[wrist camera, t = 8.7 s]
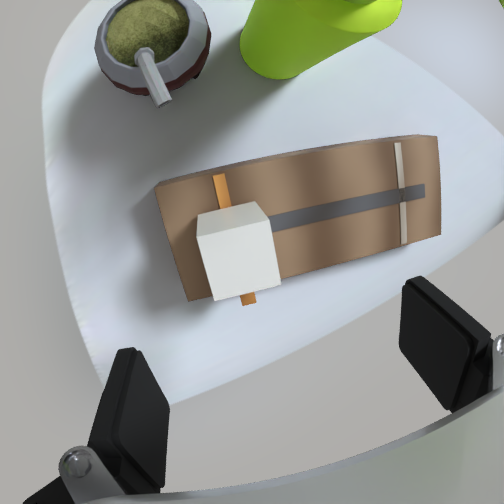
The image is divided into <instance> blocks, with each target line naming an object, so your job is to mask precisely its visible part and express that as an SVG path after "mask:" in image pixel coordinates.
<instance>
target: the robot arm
mask: <svg viewBox="0 0 504 504" xmlns="http://www.w3.org/2000/svg"><path fill="white" fill-rule="evenodd" d="M490 337H491V333H490V332H489V331H488V330H487V329H485V328H484V327H483V326H482V325H481V324H480V323H479V322H477V321H476V320H475V319H474V318H473V317H472V316H470V315H469V314H468V313H467V312H466V311H465V310H463V309H462V308H461V307H460V306H459V305H457V304H456V303H455V302H454V301H453V300H451V299H450V298H449V297H448V296H446V295H445V294H444V293H443V292H442V291H440V290H439V289H438V288H436V287H435V286H434V285H433V284H431V283H430V282H429V281H428V280H426V279H425V278H424V277H422V276H417V277H414V278H411V279H408V280H407V281H406V283H405V285H404V286H403V287H402V304H401V320H400V333H399V348H400V350H401V352H402V353H403V354H404V356H405V357H406V358H407V360H408V361H409V362H410V364H411V365H412V366H413V367H414V369H415V370H416V371H417V373H418V374H419V375H420V377H421V378H422V379H423V381H424V382H425V383H426V384H427V386H428V387H429V389H430V390H431V391H432V393H433V394H434V395H435V397H436V398H437V399H438V401H439V402H440V403H441V405H442V406H443V407H444V409H446V410H450V411H451V413H452V414H450V415H448V416H446V417H444V418H442V419H440V420H438V421H437V422H434V423H432V424H430V425H428V426H426V427H424V428H422V429H420V430H418V431H416V432H414V433H411V434H409V435H407V436H405V437H403V438H400V439H398V440H395V441H393V442H391V443H388V444H386V445H383V446H380V447H378V448H375V449H373V450H370V451H368V452H365V453H362V454H359V455H356V456H353V457H351V458H348V459H345V460H342V461H339V462H335V463H332V464H329V465H326V466H322V467H319V468H315V469H311V470H308V471H304V472H300V473H296V474H292V475H288V476H283V477H279V478H274V479H270V480H265V481H260V482H254V483H249V484H243V485H237V486H230V487H223V488H216V489H207V490H197V491H187V492H175V493H160V488H163V487H164V485H165V472H166V454H167V439H168V425H169V413H170V408H169V404H168V401H167V399H166V398H165V396H164V394H163V392H162V390H161V388H160V387H159V385H158V383H157V381H156V379H155V377H154V375H153V373H152V371H151V370H150V368H149V366H148V364H147V362H146V360H145V358H144V356H143V354H142V352H141V351H140V350H138V351H137V350H136V349H135V348H134V347H131V348H125V349H119V350H118V351H117V354H116V356H115V359H114V362H113V365H112V368H111V371H110V374H109V377H108V380H107V383H106V386H105V389H104V391H103V393H102V396H101V399H100V403H99V406H98V409H97V413H96V416H95V419H94V423H93V426H92V430H91V433H90V437H89V441H88V444H87V446H77V447H73V448H71V449H69V450H68V451H67V452H66V453H64V455H63V456H62V458H61V459H60V462H59V469H58V470H59V473H60V476H59V477H58V478H56V479H55V480H54V481H52V482H51V483H49V484H48V485H46V486H45V487H43V488H42V489H41V490H39V491H38V492H36V493H35V494H33V495H32V496H30V497H29V498H27V499H26V500H25V501H24V502H23V504H504V334H502V335H499V336H498V337H496V338H495V340H493V339H491V338H490Z"/></svg>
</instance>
